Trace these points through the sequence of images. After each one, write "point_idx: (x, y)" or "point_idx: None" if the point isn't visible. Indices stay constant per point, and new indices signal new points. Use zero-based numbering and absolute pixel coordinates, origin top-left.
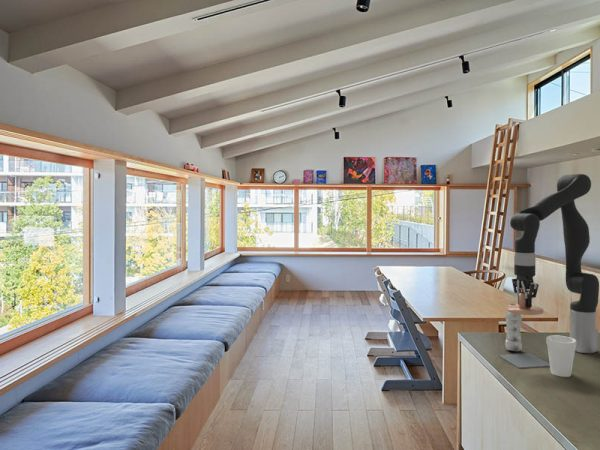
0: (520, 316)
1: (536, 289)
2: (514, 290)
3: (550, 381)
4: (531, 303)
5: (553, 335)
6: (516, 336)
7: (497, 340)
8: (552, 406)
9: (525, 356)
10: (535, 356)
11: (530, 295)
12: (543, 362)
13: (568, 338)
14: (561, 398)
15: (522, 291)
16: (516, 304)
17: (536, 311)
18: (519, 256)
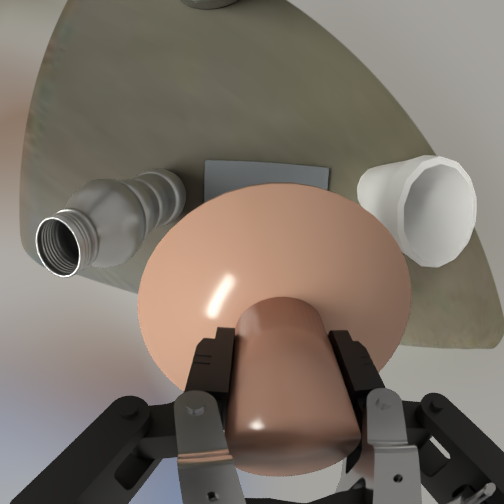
0: (128, 206)
1: (493, 460)
2: (134, 458)
3: (406, 258)
4: (371, 362)
5: (402, 205)
6: (167, 208)
7: (71, 187)
8: (459, 325)
9: None
10: (241, 162)
11: (426, 448)
12: (300, 178)
13: (435, 164)
14: (455, 293)
15: (199, 444)
16: (48, 219)
17: (395, 313)
18: None
